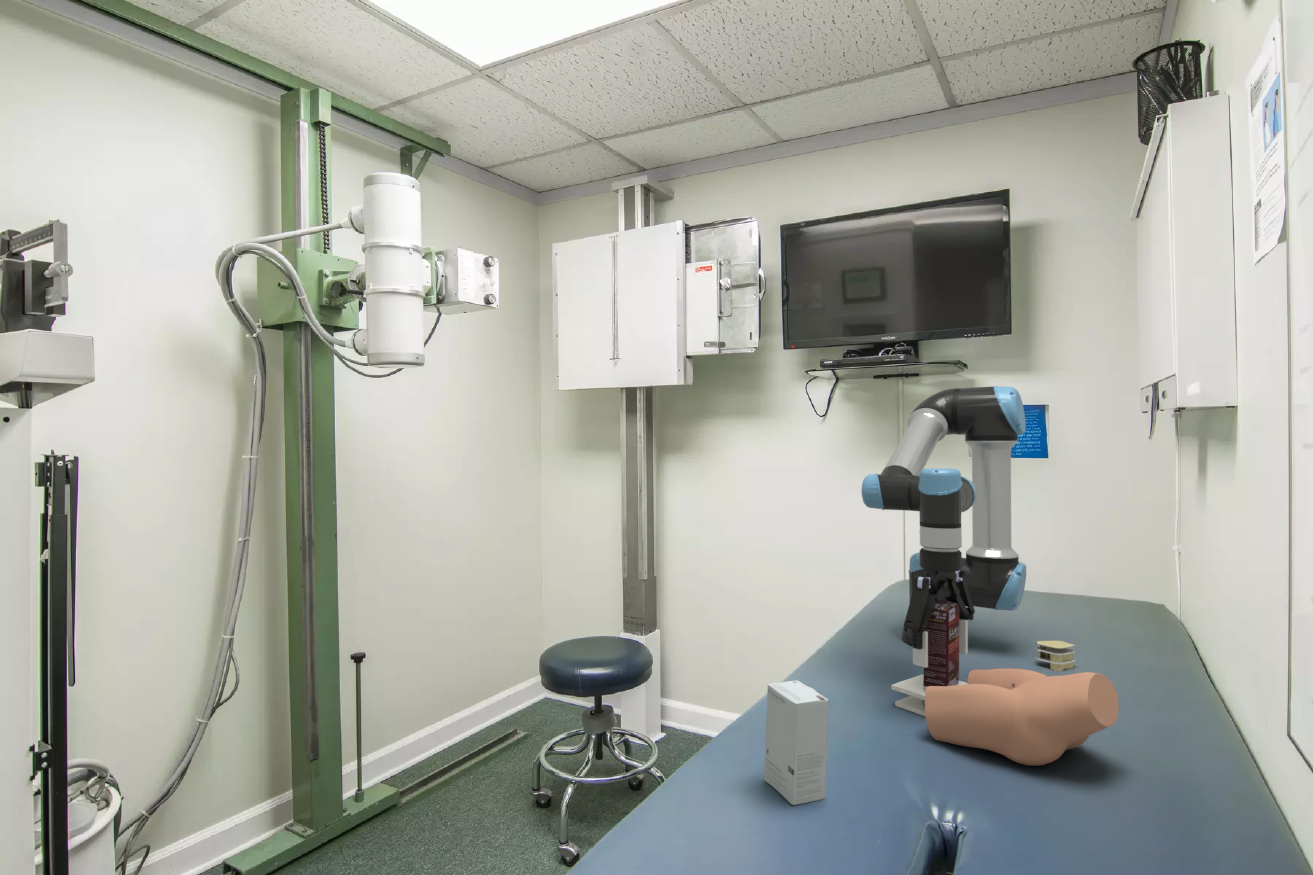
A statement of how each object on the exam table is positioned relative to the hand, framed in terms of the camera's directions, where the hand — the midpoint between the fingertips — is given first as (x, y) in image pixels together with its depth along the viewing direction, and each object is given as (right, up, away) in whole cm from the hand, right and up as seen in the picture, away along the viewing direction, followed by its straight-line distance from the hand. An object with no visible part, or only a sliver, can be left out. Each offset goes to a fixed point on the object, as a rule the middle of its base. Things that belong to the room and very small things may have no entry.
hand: (940, 658), depth 133 cm
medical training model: (+7, -10, -18) cm, 21 cm away
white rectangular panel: (0, -10, 0) cm, 10 cm away
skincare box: (-34, -10, -31) cm, 47 cm away
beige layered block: (+36, -10, +24) cm, 45 cm away
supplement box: (0, -6, 0) cm, 6 cm away
